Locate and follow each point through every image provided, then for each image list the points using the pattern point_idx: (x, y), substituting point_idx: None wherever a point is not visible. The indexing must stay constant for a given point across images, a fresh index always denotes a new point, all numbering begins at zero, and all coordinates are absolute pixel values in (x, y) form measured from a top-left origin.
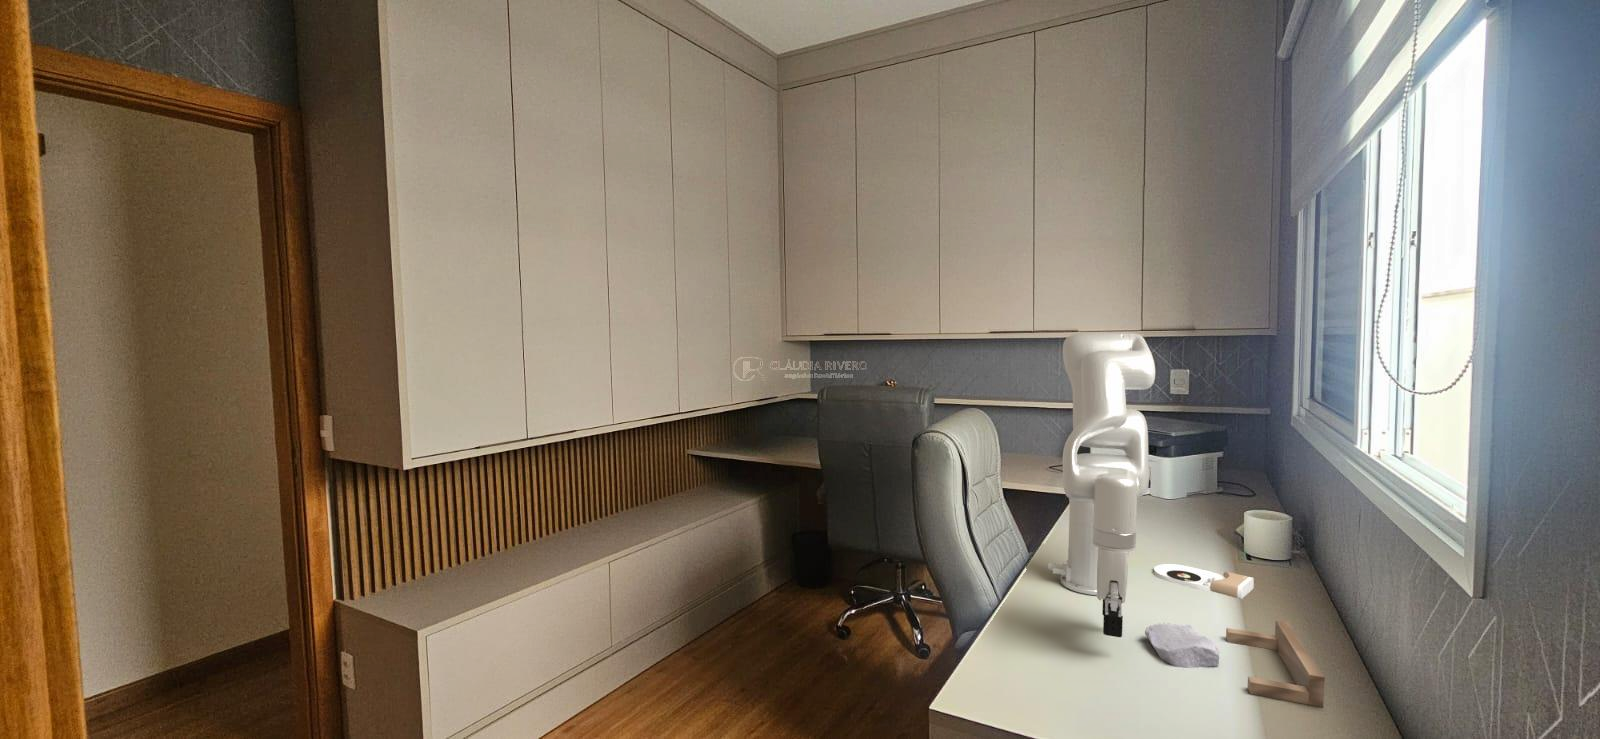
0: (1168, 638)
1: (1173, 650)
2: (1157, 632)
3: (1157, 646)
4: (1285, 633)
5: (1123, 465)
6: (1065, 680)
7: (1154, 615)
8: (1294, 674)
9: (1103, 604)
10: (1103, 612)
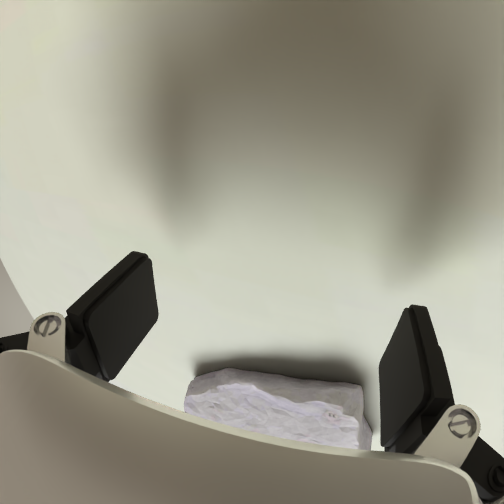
0: (259, 427)
1: (184, 406)
2: (307, 420)
3: (228, 388)
4: None
5: None
6: (18, 106)
7: (497, 409)
8: None
9: (418, 352)
10: (407, 316)
